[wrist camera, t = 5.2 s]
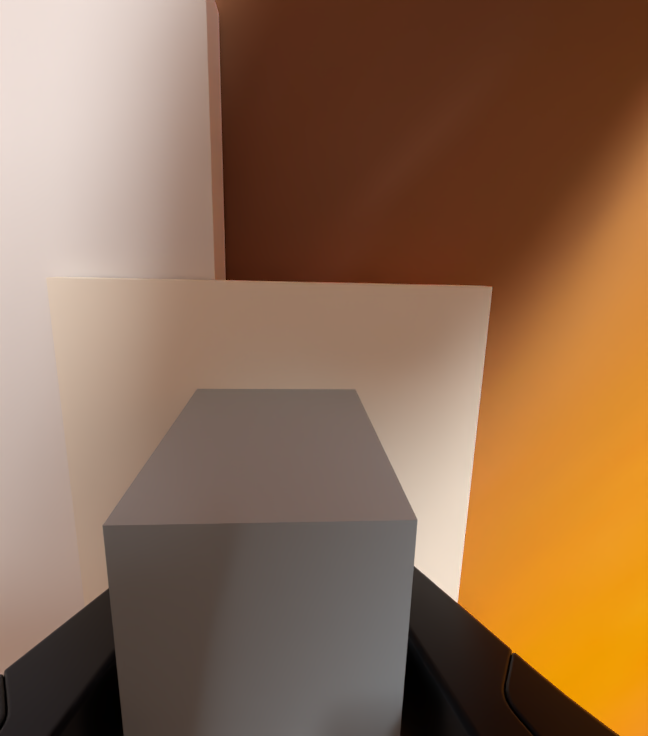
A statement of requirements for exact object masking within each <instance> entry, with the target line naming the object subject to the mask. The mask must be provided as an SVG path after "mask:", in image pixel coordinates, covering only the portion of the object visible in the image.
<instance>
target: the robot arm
mask: <svg viewBox="0 0 648 736" xmlns="http://www.w3.org/2000/svg"><path fill="white" fill-rule="evenodd" d="M0 736H124V733H123V723H122V713H121V703H120V693H119V683H118V674H117V664H116V654H115V644H114V634H113V625H112V615H111V605H110V595H109V588H108V589H107V590H105V591H104V592H103V593H102V594H100V595H99V596H98V597H96V598H95V599H94V600H93V601H91V602H90V603H89V604H88V605H86V606H85V607H84V608H83V609H81V610H80V611H79V612H77V613H76V614H75V615H74V616H72V617H71V618H70V619H69V620H67V621H66V622H65V623H64V624H62V625H61V626H60V627H58V628H57V629H56V630H55V631H53V632H52V633H51V634H50V635H48V636H47V637H46V638H45V639H43V640H42V641H41V642H39V643H38V644H37V645H36V646H34V647H33V648H32V649H31V650H29V651H28V652H27V653H26V654H24V655H23V656H22V657H20V658H19V659H18V660H17V661H15V662H14V663H13V664H12V665H10V666H9V667H8V668H6V669H5V670H4V676H3V675H2V674H0ZM400 736H619V735H618V734H617V733H615V732H614V731H613V730H611V729H610V728H608V727H607V726H606V725H604V724H603V723H602V722H600V721H599V720H598V719H597V718H595V717H594V716H593V715H591V714H590V713H589V712H587V711H586V710H585V709H583V708H582V707H581V706H580V705H578V704H577V703H576V702H574V701H573V700H572V699H570V698H569V697H568V696H566V695H565V694H564V693H563V692H562V691H560V690H559V689H558V688H557V687H556V686H554V685H553V684H552V683H551V682H549V681H548V680H547V679H546V678H545V677H543V676H542V675H541V674H540V673H539V672H537V671H536V670H535V669H534V668H533V667H531V666H530V665H529V664H528V663H527V662H526V661H524V660H523V659H522V658H521V657H520V656H519V655H517V654H516V653H512V650H511V649H510V648H509V647H508V646H507V645H506V644H504V643H503V642H502V641H501V640H500V639H499V638H497V637H496V636H495V635H494V634H493V633H492V632H491V631H489V630H488V629H487V628H486V627H485V626H484V625H482V624H481V623H480V622H479V621H478V620H477V619H475V618H474V617H473V616H472V615H471V614H470V613H468V612H467V611H466V610H465V609H464V608H463V607H462V606H460V605H459V604H458V603H457V602H456V601H455V600H453V599H452V598H451V597H450V596H449V595H448V594H446V593H445V592H444V591H443V590H442V589H441V588H439V587H438V586H437V585H436V584H435V583H434V582H432V581H431V580H430V579H429V578H428V577H427V576H426V575H424V574H423V573H422V572H421V571H420V570H419V569H417V568H416V567H415V566H414V570H413V582H412V594H411V607H410V619H409V631H408V643H407V655H406V667H405V679H404V691H403V704H402V716H401V728H400Z"/></svg>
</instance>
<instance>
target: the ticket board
mask: <svg viewBox="0 0 648 736" xmlns="http://www.w3.org/2000/svg"><path fill="white" fill-rule="evenodd" d="M48 277H99V278H147V279H194V280H226V268H225V230H224V191H223V152H222V114H221V75H220V36H219V12H218V9H217V6H216V2H215V0H0V674H2V675H3V676H4V670H5V669H6V668H8V667H9V666H10V665H12V664H13V663H14V662H15V661H17V660H18V659H19V658H20V657H22V656H23V655H24V654H26V653H27V652H28V651H29V650H31V649H32V648H33V647H34V646H36V645H37V644H38V643H39V642H41V641H42V640H43V639H45V638H46V637H47V636H48V635H50V634H51V633H52V632H53V631H55V630H56V629H57V628H58V627H60V626H61V625H62V624H64V623H65V622H66V621H67V620H69V619H70V618H71V617H72V616H74V615H75V614H76V613H77V612H79V611H80V610H81V609H83V608H84V607H85V605H84V597H83V588H82V580H81V571H80V563H79V554H78V546H77V537H76V529H75V520H74V512H73V503H72V495H71V486H70V478H69V469H68V461H67V452H66V444H65V435H64V427H63V418H62V410H61V401H60V393H59V384H58V376H57V367H56V359H55V350H54V342H53V333H52V325H51V316H50V308H49V299H48V291H47V282H46V278H48Z"/></svg>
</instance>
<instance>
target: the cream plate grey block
mask: <svg viewBox="0 0 648 736" xmlns="http://www.w3.org/2000/svg"><path fill="white" fill-rule="evenodd" d="M46 282H47V291H48V299H49V308H50V316H51V325H52V333H53V342H54V350H55V359H56V367H57V376H58V384H59V393H60V401H61V410H62V418H63V427H64V435H65V444H66V452H67V461H68V469H69V478H70V486H71V495H72V503H73V512H74V520H75V529H76V537H77V546H78V554H79V563H80V571H81V580H82V588H83V597H84V605H85V606H86V605H88V604H89V603H90V602H91V601H93V600H94V599H95V598H96V597H98V596H99V595H100V594H102V593H103V592H104V591H105V590H107V589H108V588H109V595H110V605H111V615H112V625H113V634H114V644H115V654H116V664H117V674H118V683H119V693H120V703H121V713H122V723H123V733H124V736H400V728H401V716H402V704H403V691H404V679H405V667H406V655H407V643H408V631H409V619H410V607H411V594H412V582H413V570H414V566H415V567H416V568H417V569H419V570H420V571H421V572H422V573H423V574H424V575H426V576H427V577H428V578H429V579H430V580H431V581H432V582H434V583H435V584H436V585H437V586H438V587H439V588H441V589H442V590H443V591H444V592H445V593H446V594H448V595H449V596H450V597H451V598H452V599H453V600H455V601H456V602H457V603H458V594H459V585H460V576H461V567H462V558H463V549H464V540H465V531H466V522H467V513H468V504H469V495H470V486H471V477H472V468H473V459H474V450H475V441H476V432H477V423H478V414H479V405H480V396H481V387H482V378H483V369H484V360H485V351H486V342H487V333H488V324H489V315H490V306H491V297H492V288H493V287H489V286H479V285H432V284H384V283H337V282H289V281H242V280H194V279H147V278H99V277H48V278H46Z"/></svg>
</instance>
